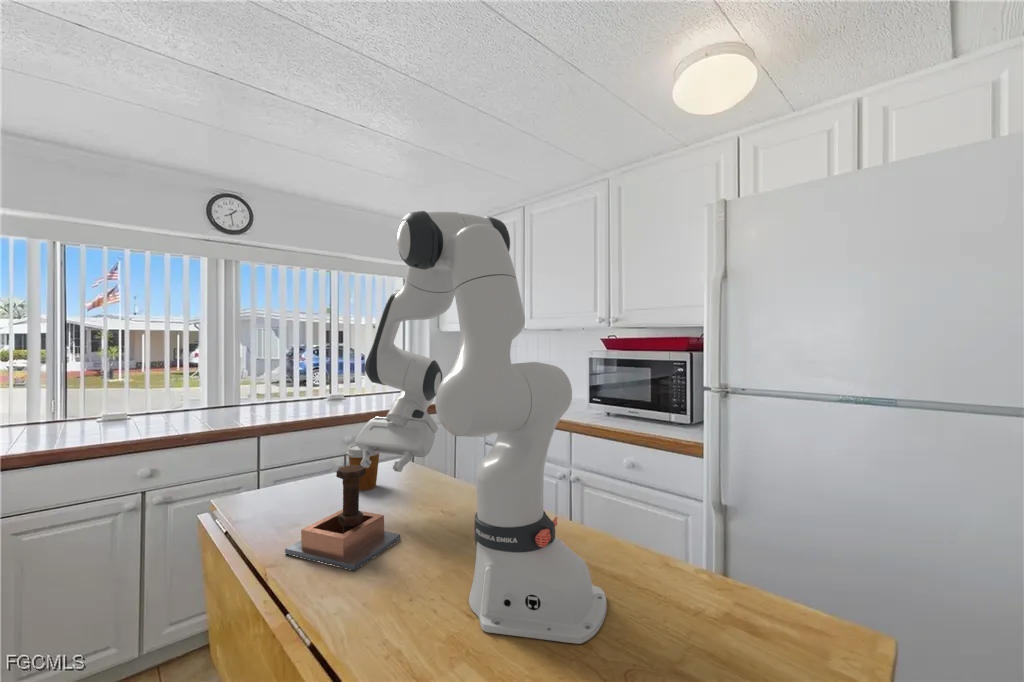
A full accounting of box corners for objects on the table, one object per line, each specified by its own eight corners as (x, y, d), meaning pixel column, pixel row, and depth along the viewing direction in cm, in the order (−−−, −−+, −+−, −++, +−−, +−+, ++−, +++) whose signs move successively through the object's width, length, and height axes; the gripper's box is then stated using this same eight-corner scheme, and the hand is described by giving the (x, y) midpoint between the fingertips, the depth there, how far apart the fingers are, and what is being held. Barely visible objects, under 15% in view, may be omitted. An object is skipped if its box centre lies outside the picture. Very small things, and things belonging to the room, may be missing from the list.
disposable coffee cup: (349, 495, 126) (347, 452, 126) (346, 485, 135) (345, 444, 135) (384, 489, 130) (383, 447, 130) (379, 480, 139) (378, 441, 139)
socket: (400, 539, 98) (400, 515, 98) (354, 571, 85) (353, 543, 85) (336, 526, 105) (336, 504, 105) (285, 554, 92) (284, 529, 92)
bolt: (355, 546, 93) (356, 473, 93) (332, 544, 93) (332, 471, 93) (367, 534, 98) (368, 465, 98) (346, 532, 99) (346, 463, 99)
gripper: (366, 409, 117) (338, 457, 108) (433, 413, 108) (409, 465, 100) (378, 423, 121) (352, 470, 112) (444, 428, 113) (421, 479, 104)
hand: (379, 468), depth 106 cm, fingers open, 8 cm apart
